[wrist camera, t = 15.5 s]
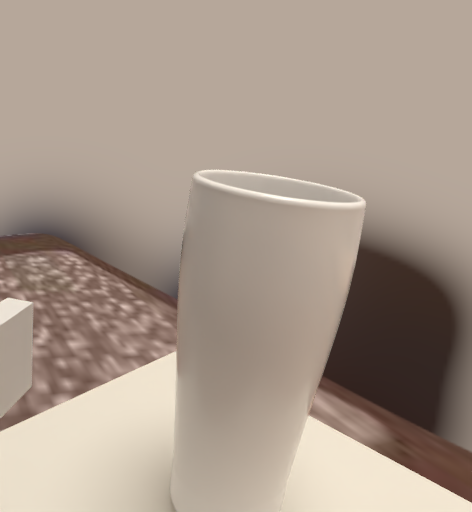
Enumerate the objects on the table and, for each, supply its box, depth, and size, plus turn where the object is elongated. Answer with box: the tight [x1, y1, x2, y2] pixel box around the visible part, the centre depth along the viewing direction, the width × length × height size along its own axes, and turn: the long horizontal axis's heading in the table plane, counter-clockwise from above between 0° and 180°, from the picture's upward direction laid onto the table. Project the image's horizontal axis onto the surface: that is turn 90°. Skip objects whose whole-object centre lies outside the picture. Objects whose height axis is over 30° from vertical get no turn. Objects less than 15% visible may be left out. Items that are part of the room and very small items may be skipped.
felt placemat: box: [0, 351, 472, 512], centre depth 21 cm, size 22×18×1 cm
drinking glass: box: [170, 170, 366, 512], centre depth 19 cm, size 7×7×15 cm
